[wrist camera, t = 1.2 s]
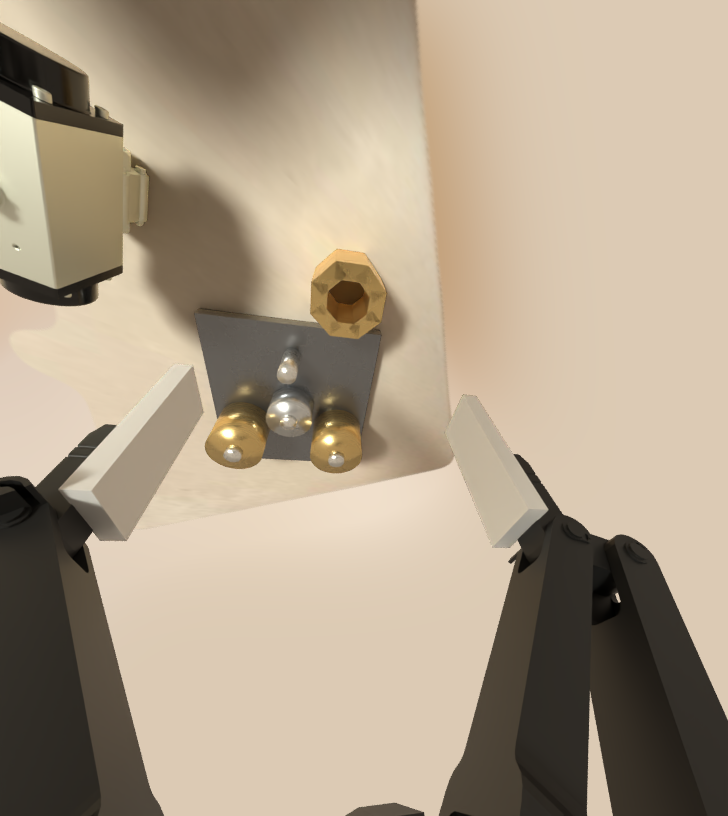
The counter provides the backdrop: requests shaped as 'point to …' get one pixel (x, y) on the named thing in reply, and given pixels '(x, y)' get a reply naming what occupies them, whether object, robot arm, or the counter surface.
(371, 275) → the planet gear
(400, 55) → the counter surface
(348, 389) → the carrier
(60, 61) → the pneumatic valve
